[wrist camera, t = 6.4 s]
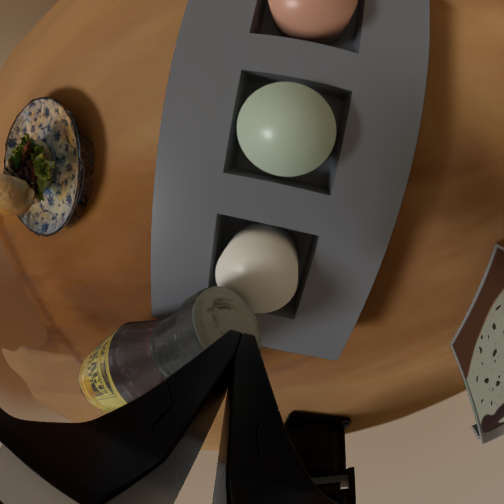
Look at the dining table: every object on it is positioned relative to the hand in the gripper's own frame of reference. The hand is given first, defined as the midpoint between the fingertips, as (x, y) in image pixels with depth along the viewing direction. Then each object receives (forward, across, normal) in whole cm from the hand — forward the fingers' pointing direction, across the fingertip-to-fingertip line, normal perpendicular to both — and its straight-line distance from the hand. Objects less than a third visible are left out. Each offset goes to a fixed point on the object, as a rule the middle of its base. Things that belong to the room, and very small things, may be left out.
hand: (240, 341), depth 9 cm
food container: (+9, -20, 0) cm, 22 cm away
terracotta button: (+7, 0, -14) cm, 16 cm away
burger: (+9, +19, -3) cm, 21 cm away
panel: (+9, 0, -7) cm, 11 cm away
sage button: (+7, 0, -7) cm, 10 cm away
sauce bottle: (+6, +13, +17) cm, 22 cm away
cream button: (+8, 0, 0) cm, 8 cm away
